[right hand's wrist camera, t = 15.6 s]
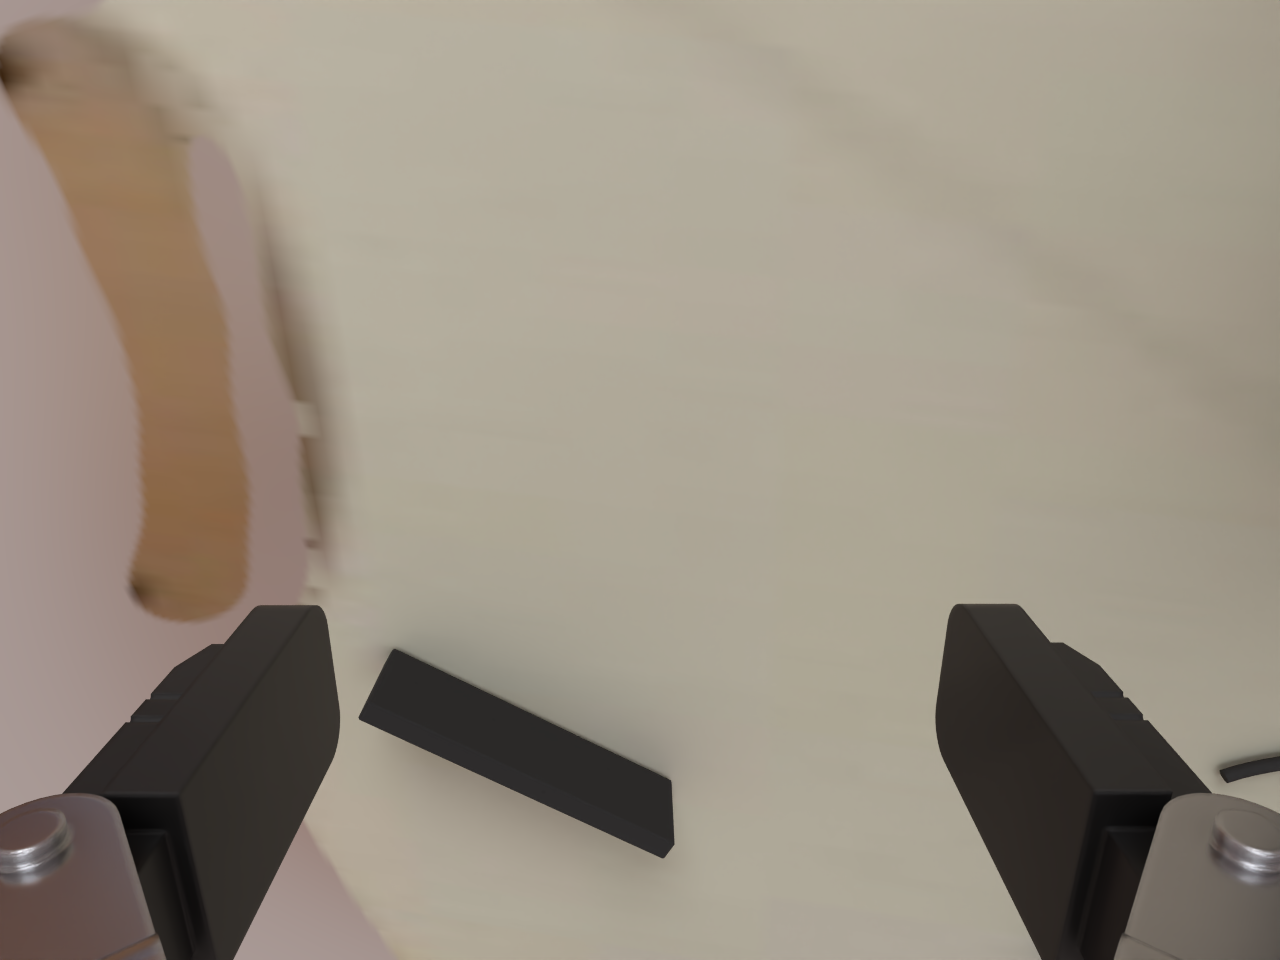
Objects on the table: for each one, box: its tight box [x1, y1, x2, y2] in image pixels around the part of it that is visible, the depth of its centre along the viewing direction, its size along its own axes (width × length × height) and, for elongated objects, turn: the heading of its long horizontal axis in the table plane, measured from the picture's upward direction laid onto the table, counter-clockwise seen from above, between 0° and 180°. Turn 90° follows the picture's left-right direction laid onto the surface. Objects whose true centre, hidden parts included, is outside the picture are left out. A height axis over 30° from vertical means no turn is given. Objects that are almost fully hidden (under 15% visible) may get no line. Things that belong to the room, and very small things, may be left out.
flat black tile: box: [359, 649, 674, 858], centre depth 47 cm, size 18×1×5 cm, turn 60°
